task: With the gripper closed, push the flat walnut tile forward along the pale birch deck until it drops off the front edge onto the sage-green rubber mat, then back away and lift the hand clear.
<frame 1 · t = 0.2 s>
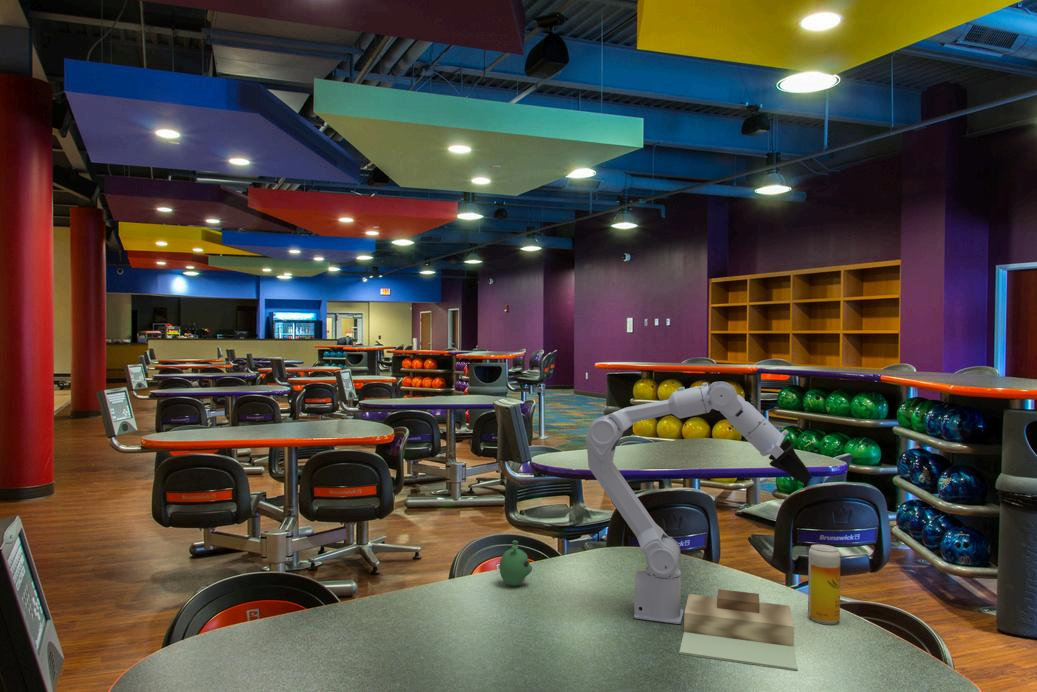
hand: (806, 477, 140), 31 cm above the table, tool tilted 45°, fingers open, 7 cm apart
sage mat: (737, 651, 129), on the table
beer can: (823, 621, 146), on the table
birch deck: (737, 629, 140), on the table
walnut tile: (738, 605, 142), point 4 cm above the table, touching birch deck
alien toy: (515, 586, 165), on the table
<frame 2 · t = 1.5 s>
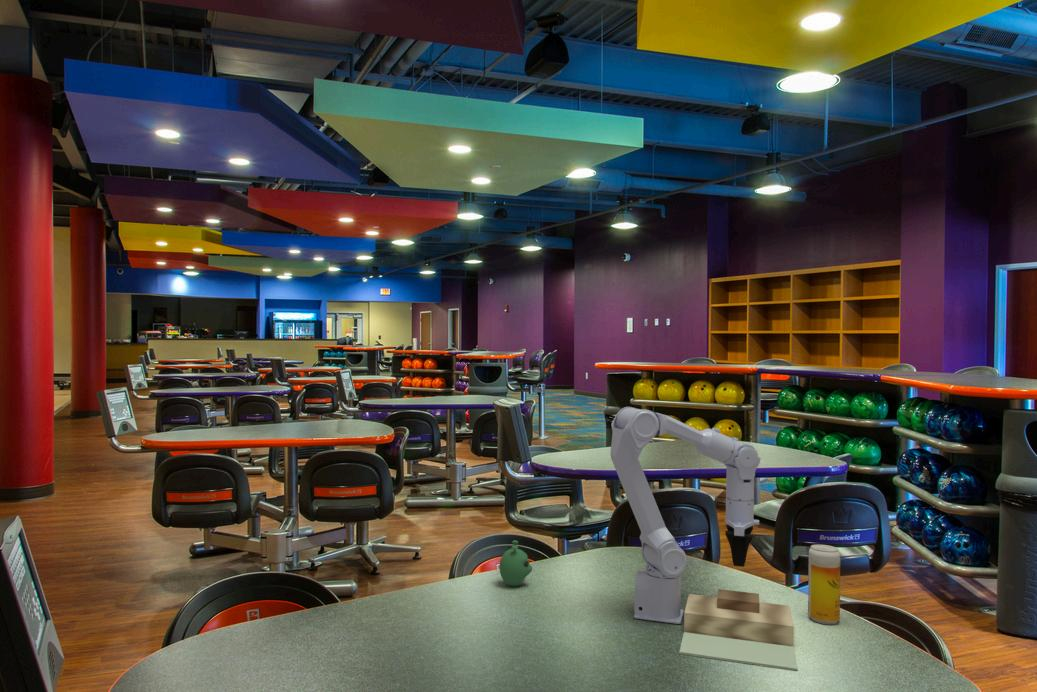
hand: (738, 562, 151), 10 cm above the table, tool pointing down, fingers open, 5 cm apart
nothing on the table moved.
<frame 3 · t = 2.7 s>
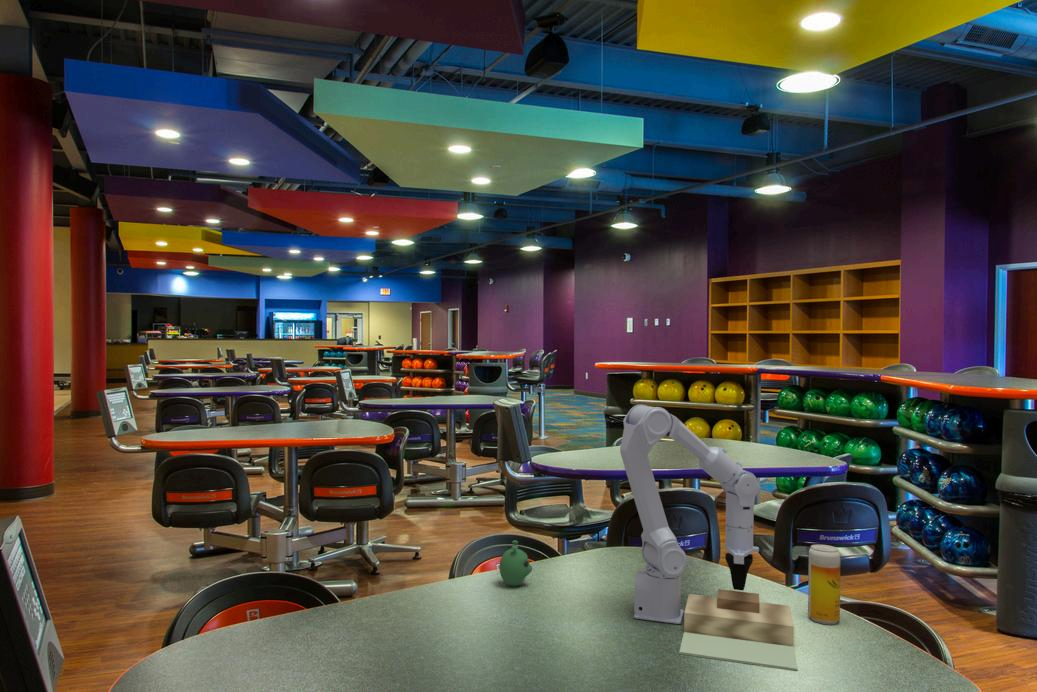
hand: (738, 589, 151), 5 cm above the table, tool pointing down, fingers closed
nothing on the table moved.
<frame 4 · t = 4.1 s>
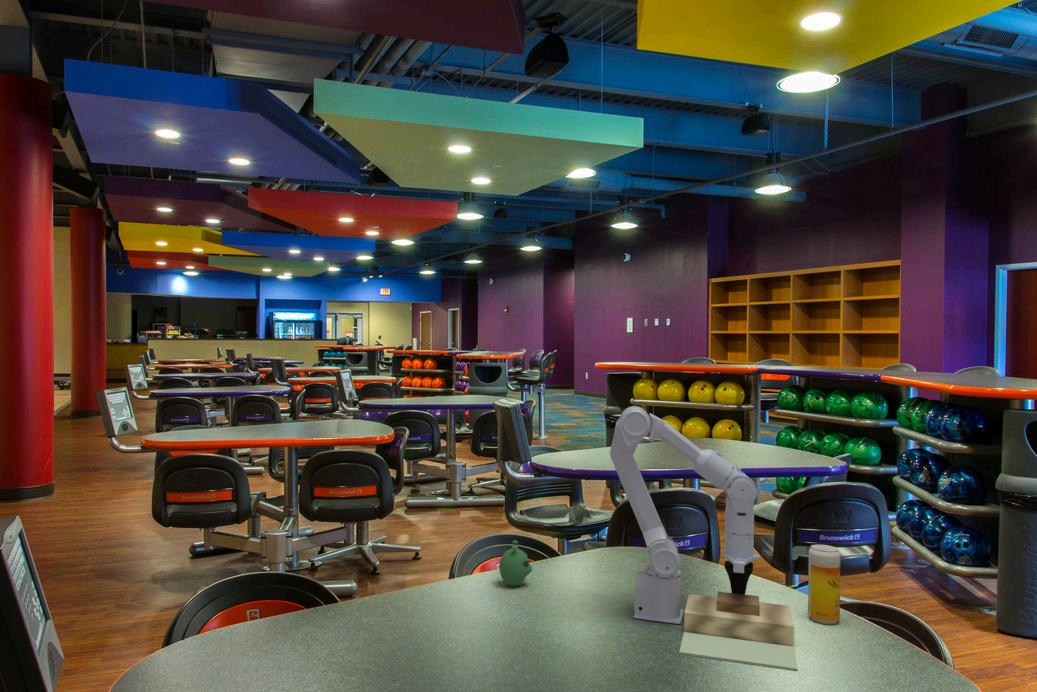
hand: (738, 598, 145), 5 cm above the table, tool pointing down, fingers closed
walnut tile: (738, 608, 141), point 4 cm above the table, touching birch deck, gripper
everything else where it was.
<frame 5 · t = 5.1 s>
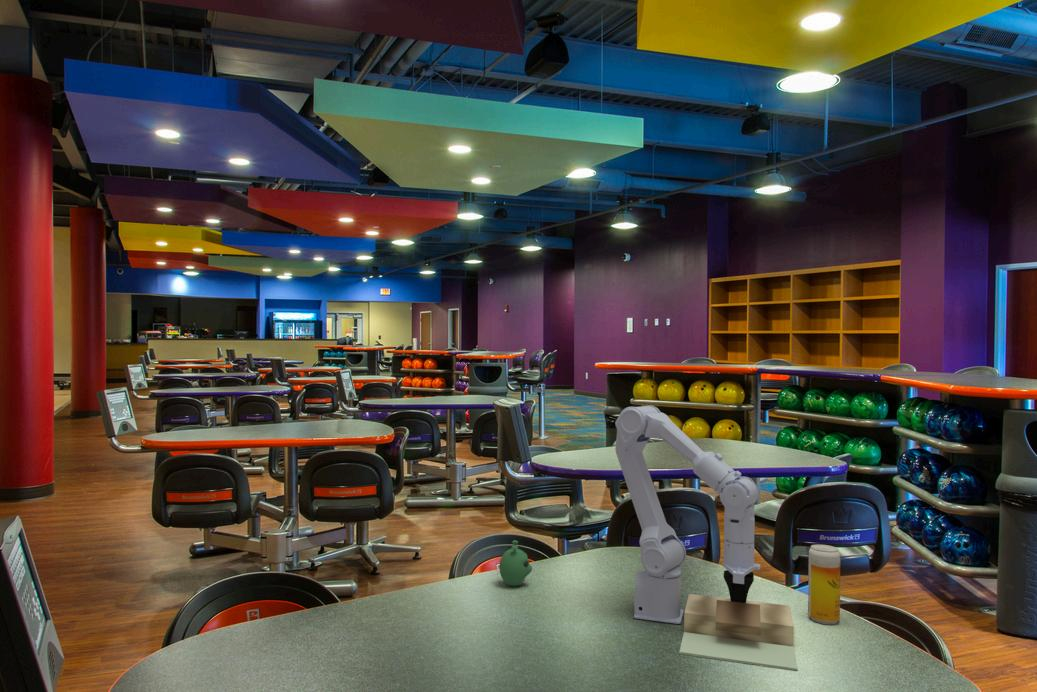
hand: (738, 610, 138), 5 cm above the table, tool pointing down, fingers closed
walnut tile: (738, 621, 134), point 4 cm above the table, tilted 23°, touching birch deck
everything else where it was.
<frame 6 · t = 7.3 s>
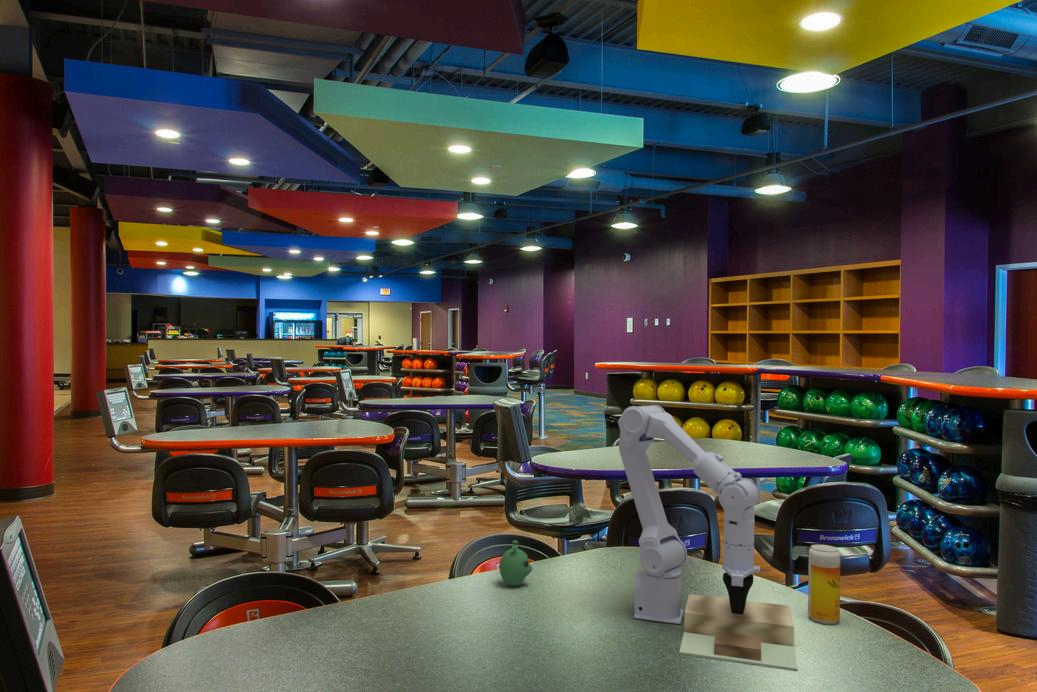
hand: (737, 612, 136), 5 cm above the table, tool pointing down, fingers closed
walnut tile: (737, 640, 128), point 2 cm above the table, tilted 180°, touching sage mat
everything else where it was.
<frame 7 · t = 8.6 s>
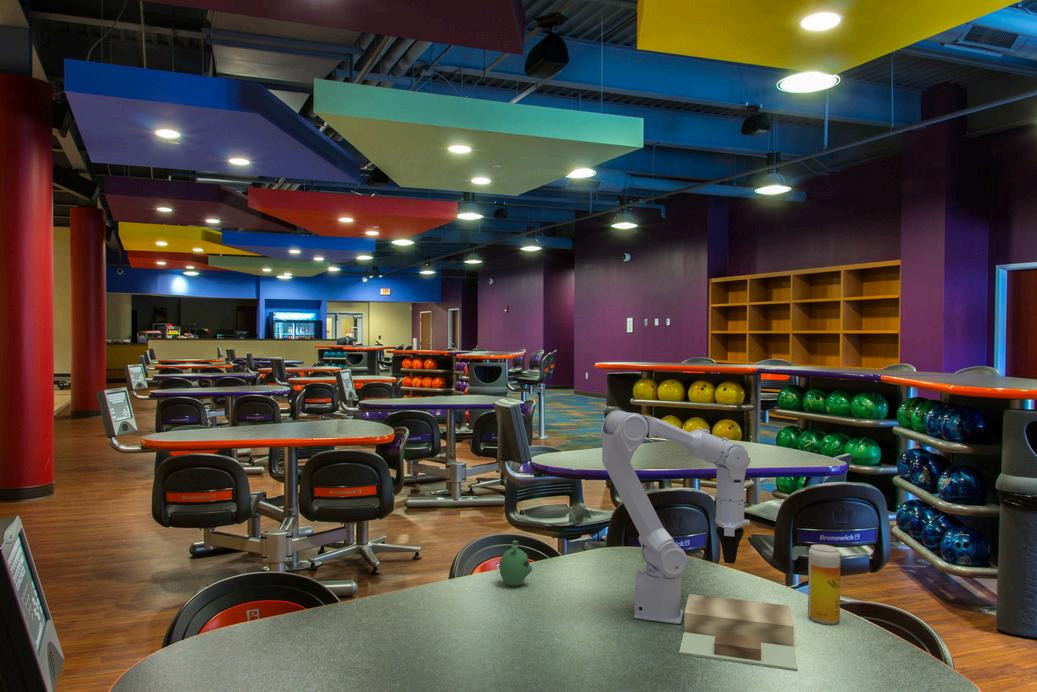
hand: (729, 562, 151), 10 cm above the table, tool pointing down, fingers closed
nothing on the table moved.
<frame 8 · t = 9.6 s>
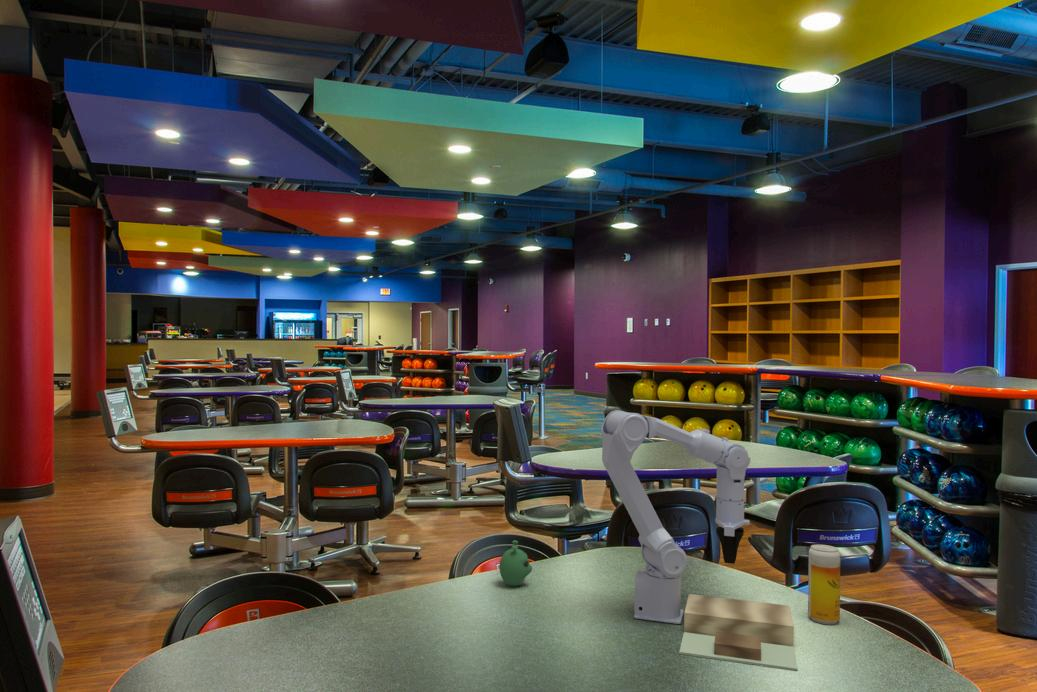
hand: (729, 562, 151), 10 cm above the table, tool pointing down, fingers closed
nothing on the table moved.
at the end: walnut tile inside the target area (0.9 cm from its centre), point 2.4 cm above the table; walnut tile point 2.4 cm above the table; walnut tile touching sage mat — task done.
